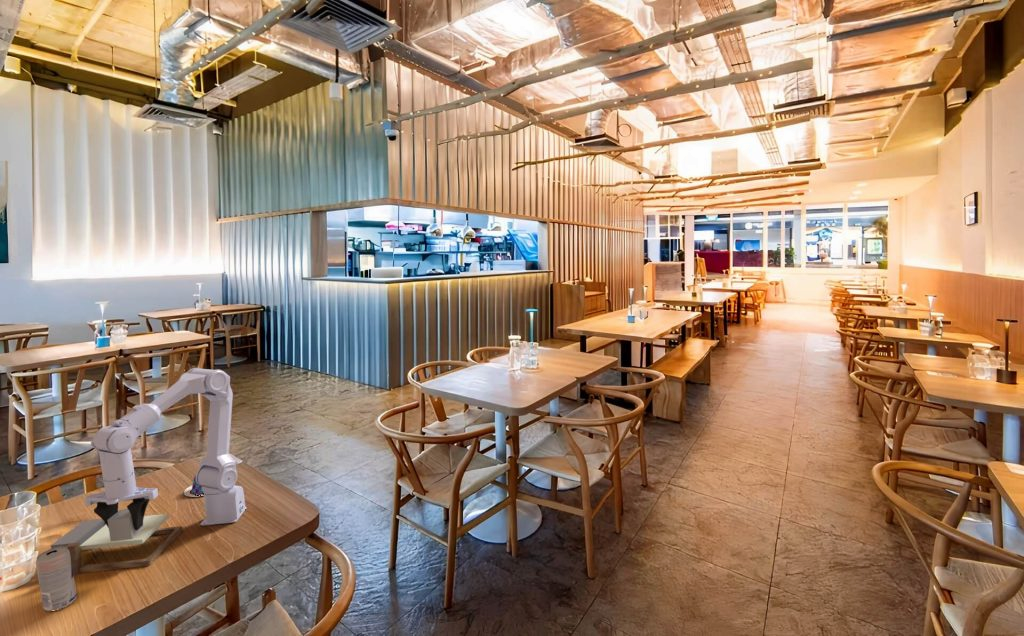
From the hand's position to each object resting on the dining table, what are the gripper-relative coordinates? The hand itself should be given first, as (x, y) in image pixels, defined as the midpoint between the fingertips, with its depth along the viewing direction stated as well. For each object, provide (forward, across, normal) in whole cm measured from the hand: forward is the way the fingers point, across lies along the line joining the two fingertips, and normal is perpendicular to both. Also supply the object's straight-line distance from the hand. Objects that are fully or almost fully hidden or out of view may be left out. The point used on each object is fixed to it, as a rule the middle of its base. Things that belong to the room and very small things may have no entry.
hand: (126, 528), depth 114 cm
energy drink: (+10, -8, -10) cm, 17 cm away
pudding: (+11, -1, +41) cm, 42 cm away
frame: (+10, -8, +8) cm, 15 cm away
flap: (+6, -9, +8) cm, 13 cm away
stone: (+1, 0, 0) cm, 1 cm away
